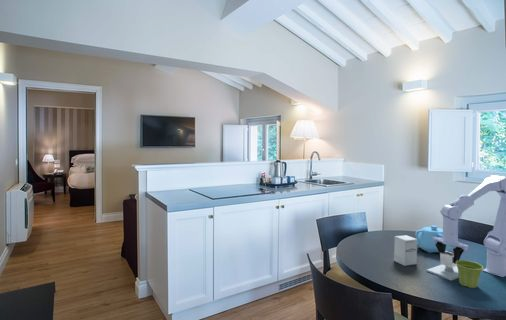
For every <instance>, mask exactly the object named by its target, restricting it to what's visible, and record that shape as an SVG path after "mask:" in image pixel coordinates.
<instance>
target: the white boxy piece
mask: <svg viewBox="0 0 506 320" xmlns="http://www.w3.org/2000/svg"><path fill="white" fill-rule="evenodd" d="M439 256H440V258H439V265H445V266H448V267H451V268H453V267H456V266H457V264H454V252H451V251H444V252H441V253H440V254H439Z"/></svg>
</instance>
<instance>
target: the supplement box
mask: <svg viewBox="0 0 506 320" xmlns="http://www.w3.org/2000/svg"><path fill="white" fill-rule="evenodd" d="M393 246H394V249H393V261H394V262H395V263H398V264H400V265H402V266H404V267H405V266H411V265H417V260H418V259H417V256H418V245H417V239H416V237H413V236H409V235H407V234H406V235H405V234H404V235H395V236H394V245H393Z"/></svg>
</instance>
